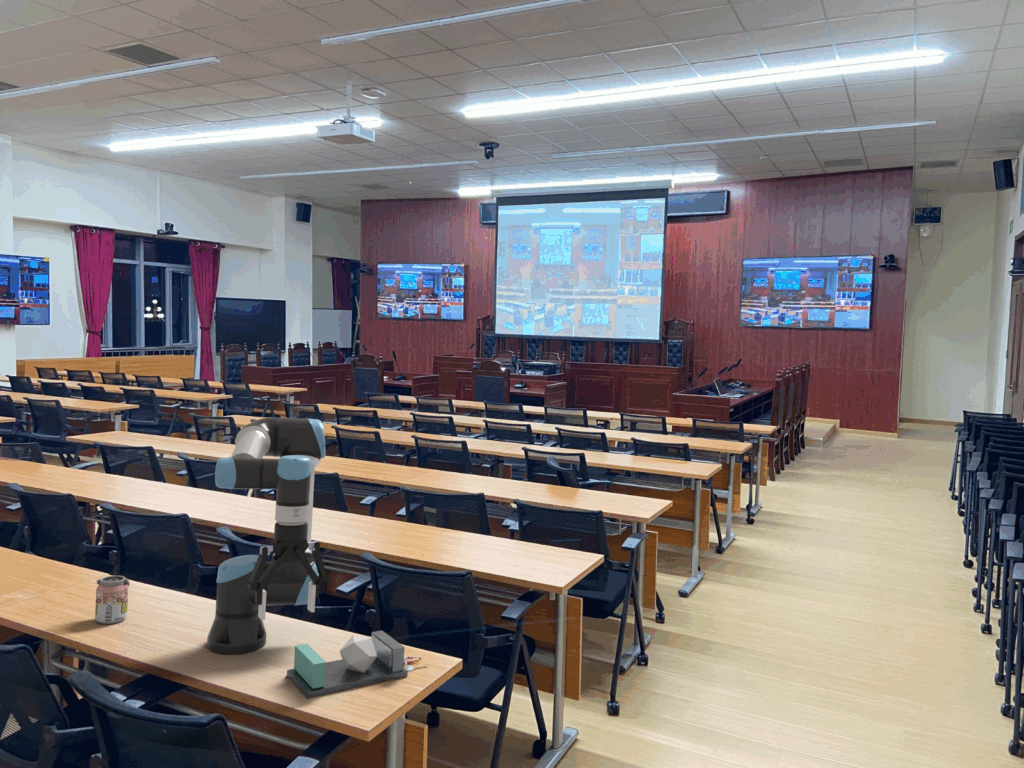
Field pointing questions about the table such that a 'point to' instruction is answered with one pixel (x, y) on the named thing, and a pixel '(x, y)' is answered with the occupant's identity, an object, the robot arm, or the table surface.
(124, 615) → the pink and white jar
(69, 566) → the table surface
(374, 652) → the die
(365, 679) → the vise base
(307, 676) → the bar
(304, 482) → the robot arm
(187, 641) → the table surface
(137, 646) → the table surface
